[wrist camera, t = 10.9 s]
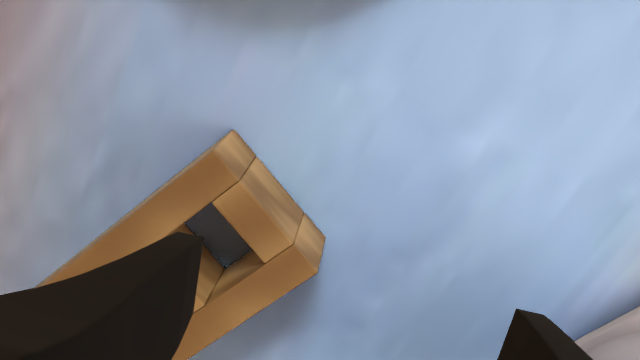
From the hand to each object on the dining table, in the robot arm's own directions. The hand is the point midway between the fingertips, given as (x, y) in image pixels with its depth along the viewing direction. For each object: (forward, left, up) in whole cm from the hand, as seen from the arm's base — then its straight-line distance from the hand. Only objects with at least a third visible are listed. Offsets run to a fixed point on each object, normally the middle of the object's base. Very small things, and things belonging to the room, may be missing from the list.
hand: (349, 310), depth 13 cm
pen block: (+1, +10, -10) cm, 15 cm away
